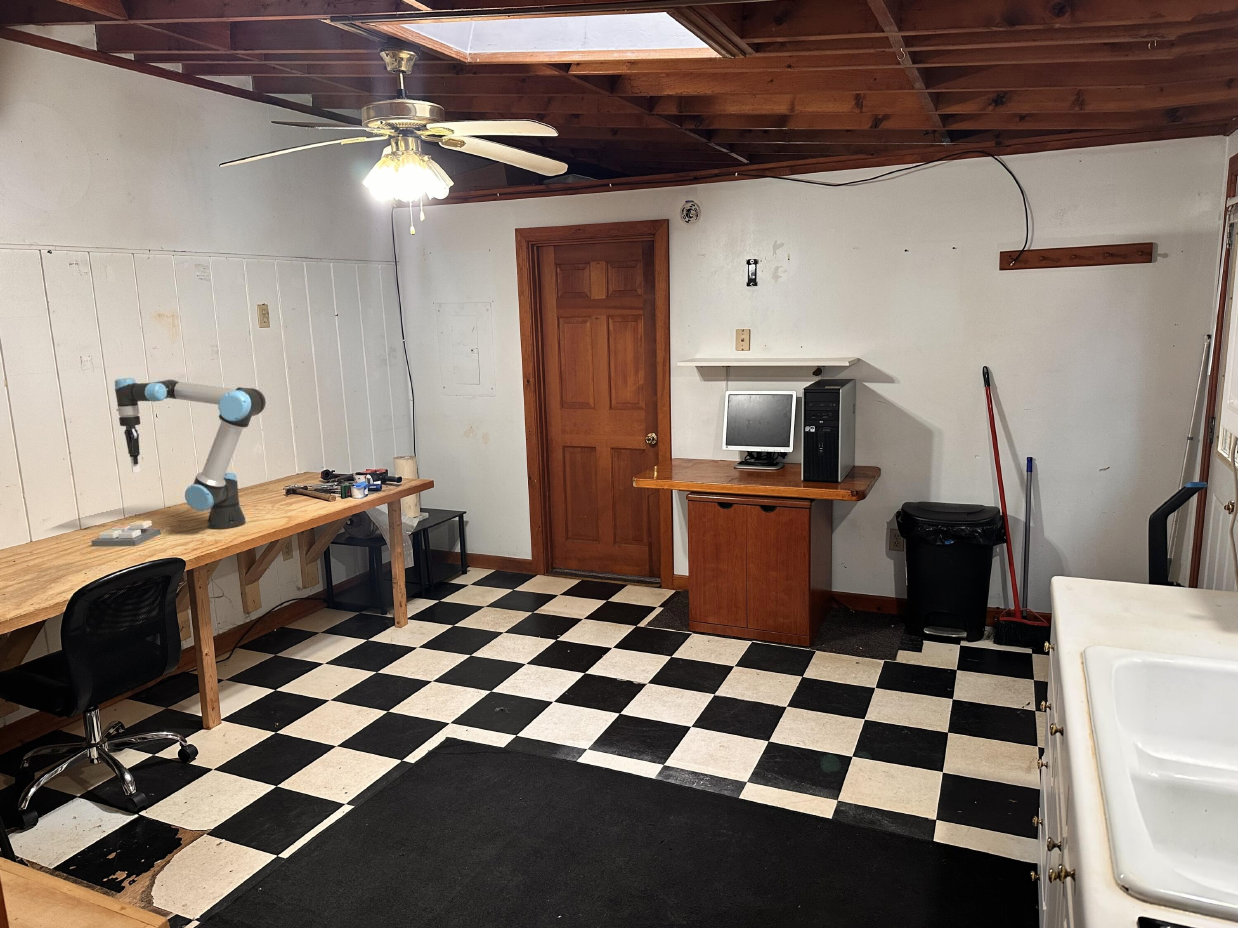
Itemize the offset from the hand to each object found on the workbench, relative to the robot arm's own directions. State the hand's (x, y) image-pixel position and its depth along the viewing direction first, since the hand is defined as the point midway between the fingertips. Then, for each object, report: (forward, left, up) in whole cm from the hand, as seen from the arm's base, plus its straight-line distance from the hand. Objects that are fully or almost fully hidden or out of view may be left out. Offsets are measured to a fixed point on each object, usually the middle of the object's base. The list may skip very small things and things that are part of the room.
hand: (136, 471), depth 361 cm
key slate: (-4, +16, -26) cm, 31 cm away
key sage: (+4, +16, -26) cm, 31 cm away
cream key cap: (-4, +8, -24) cm, 26 cm away
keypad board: (0, +12, -26) cm, 29 cm away
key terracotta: (+4, +8, -26) cm, 27 cm away
